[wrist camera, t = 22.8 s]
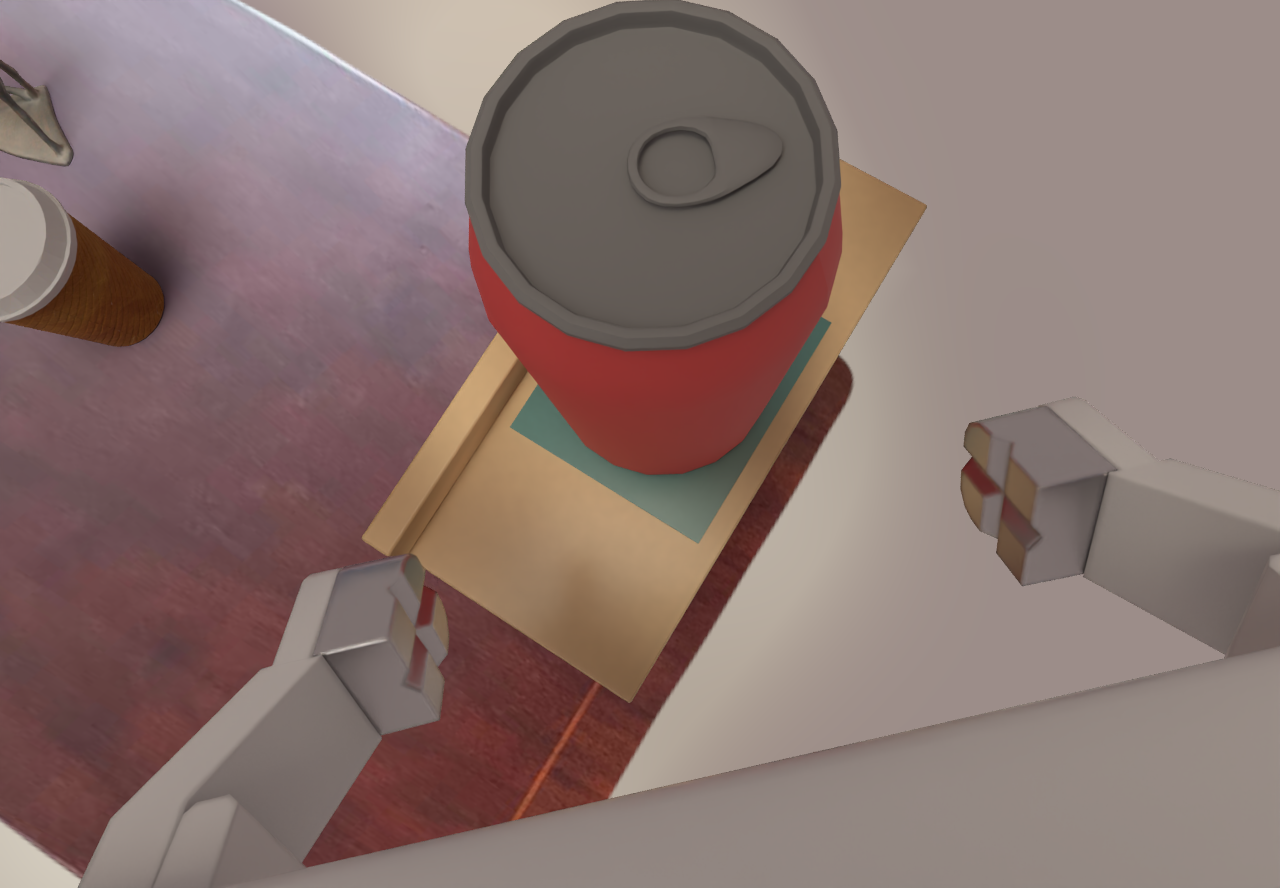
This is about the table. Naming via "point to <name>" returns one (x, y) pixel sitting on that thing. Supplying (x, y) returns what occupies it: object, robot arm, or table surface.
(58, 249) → the disposable coffee cup
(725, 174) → the beer can
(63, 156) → the figurine
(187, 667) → the table surface
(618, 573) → the shelf
